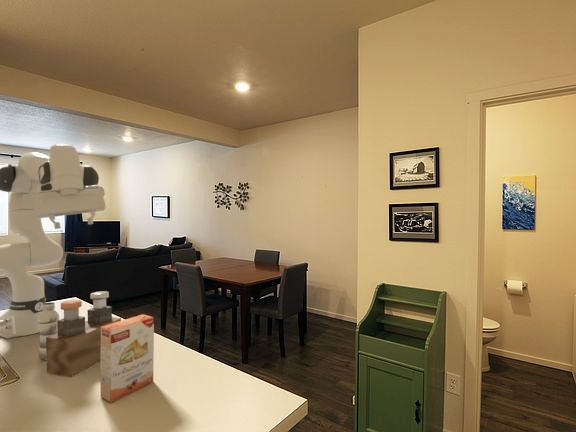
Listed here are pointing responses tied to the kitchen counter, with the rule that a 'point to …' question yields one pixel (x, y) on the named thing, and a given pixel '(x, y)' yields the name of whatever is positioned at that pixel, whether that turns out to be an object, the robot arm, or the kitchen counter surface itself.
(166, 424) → the kitchen counter surface
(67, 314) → the orange ball
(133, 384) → the cracker box
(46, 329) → the plastic bottle
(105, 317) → the stand
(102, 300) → the grey plunger
